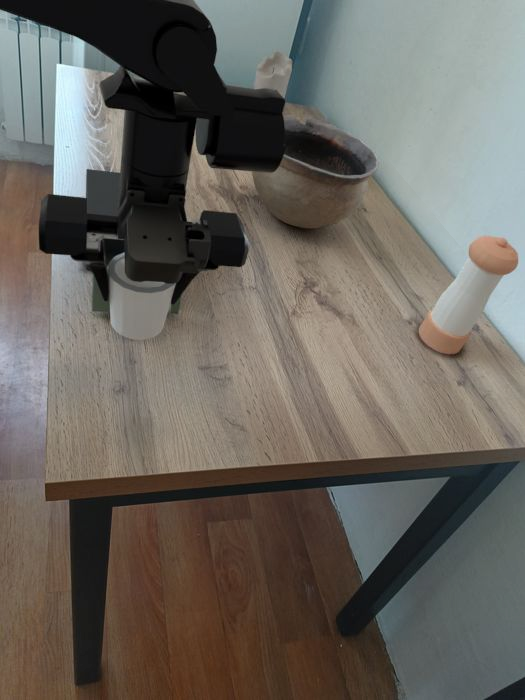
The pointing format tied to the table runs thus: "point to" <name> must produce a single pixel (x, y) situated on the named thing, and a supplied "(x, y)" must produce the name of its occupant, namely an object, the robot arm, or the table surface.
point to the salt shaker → (468, 294)
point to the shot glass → (136, 303)
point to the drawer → (112, 250)
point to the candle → (274, 73)
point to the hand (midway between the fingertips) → (139, 300)
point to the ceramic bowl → (317, 175)
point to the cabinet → (102, 193)
